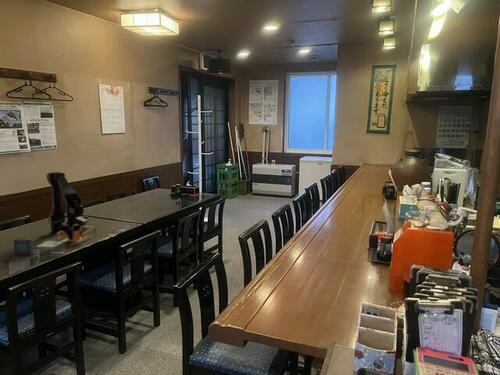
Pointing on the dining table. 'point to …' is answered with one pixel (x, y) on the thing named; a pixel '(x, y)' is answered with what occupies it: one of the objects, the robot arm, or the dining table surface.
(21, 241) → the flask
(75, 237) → the block
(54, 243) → the plate
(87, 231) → the hinoki box
